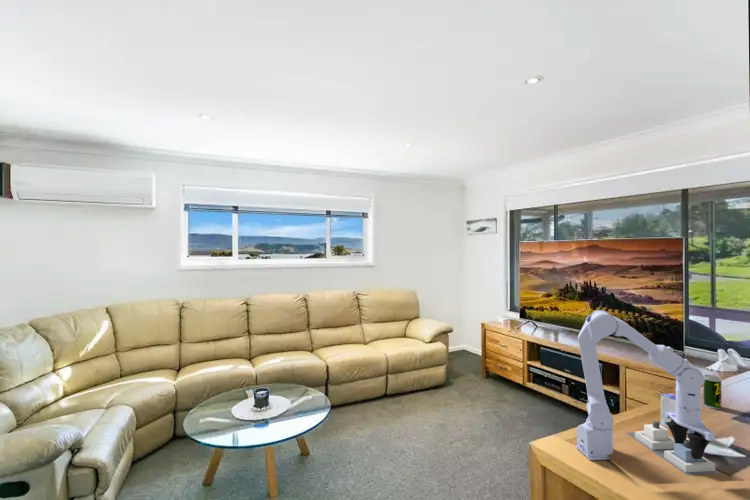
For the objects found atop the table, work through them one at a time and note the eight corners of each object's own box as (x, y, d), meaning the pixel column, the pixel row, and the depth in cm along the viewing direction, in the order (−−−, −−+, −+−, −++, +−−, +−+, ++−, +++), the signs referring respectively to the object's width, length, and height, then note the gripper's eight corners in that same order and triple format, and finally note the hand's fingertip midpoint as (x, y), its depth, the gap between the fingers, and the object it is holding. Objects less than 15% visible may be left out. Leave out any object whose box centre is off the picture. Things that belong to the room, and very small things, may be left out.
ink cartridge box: (701, 439, 126) (701, 396, 126) (689, 442, 125) (689, 398, 125) (671, 426, 136) (671, 385, 136) (659, 428, 134) (659, 387, 134)
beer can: (700, 405, 153) (700, 375, 153) (707, 403, 155) (707, 373, 155) (717, 410, 148) (717, 379, 148) (724, 407, 150) (723, 377, 150)
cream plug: (653, 446, 119) (653, 425, 119) (643, 439, 123) (643, 419, 123) (668, 445, 120) (668, 424, 120) (658, 439, 124) (658, 419, 124)
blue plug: (685, 468, 107) (685, 445, 107) (673, 460, 111) (673, 438, 111) (702, 467, 108) (702, 444, 108) (690, 459, 112) (690, 437, 112)
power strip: (687, 480, 104) (687, 467, 104) (625, 437, 128) (625, 426, 128) (722, 479, 105) (722, 466, 105) (654, 436, 129) (654, 425, 129)
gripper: (725, 416, 102) (726, 467, 102) (680, 396, 117) (680, 440, 117) (700, 417, 102) (701, 468, 102) (658, 396, 117) (658, 440, 117)
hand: (688, 453), depth 109 cm, fingers open, 5 cm apart
